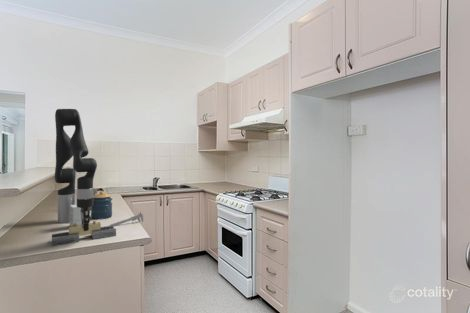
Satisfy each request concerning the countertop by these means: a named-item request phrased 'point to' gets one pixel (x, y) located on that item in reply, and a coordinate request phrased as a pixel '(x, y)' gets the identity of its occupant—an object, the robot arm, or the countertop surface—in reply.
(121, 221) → the caliper
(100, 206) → the canister
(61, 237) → the metal brackets
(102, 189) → the coffeepot
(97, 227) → the chain link plate
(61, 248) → the countertop surface
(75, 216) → the supplement box
